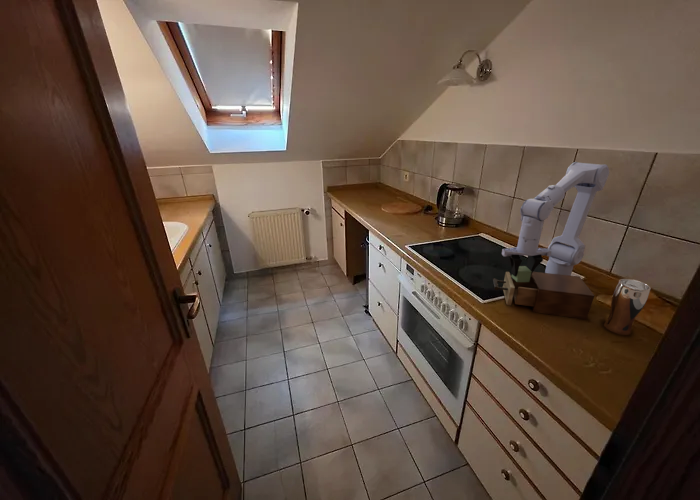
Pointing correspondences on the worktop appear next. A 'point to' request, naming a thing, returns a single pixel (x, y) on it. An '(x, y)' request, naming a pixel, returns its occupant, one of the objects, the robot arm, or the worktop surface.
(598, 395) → the worktop surface
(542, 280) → the cabinet
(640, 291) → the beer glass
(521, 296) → the drawer
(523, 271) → the block
